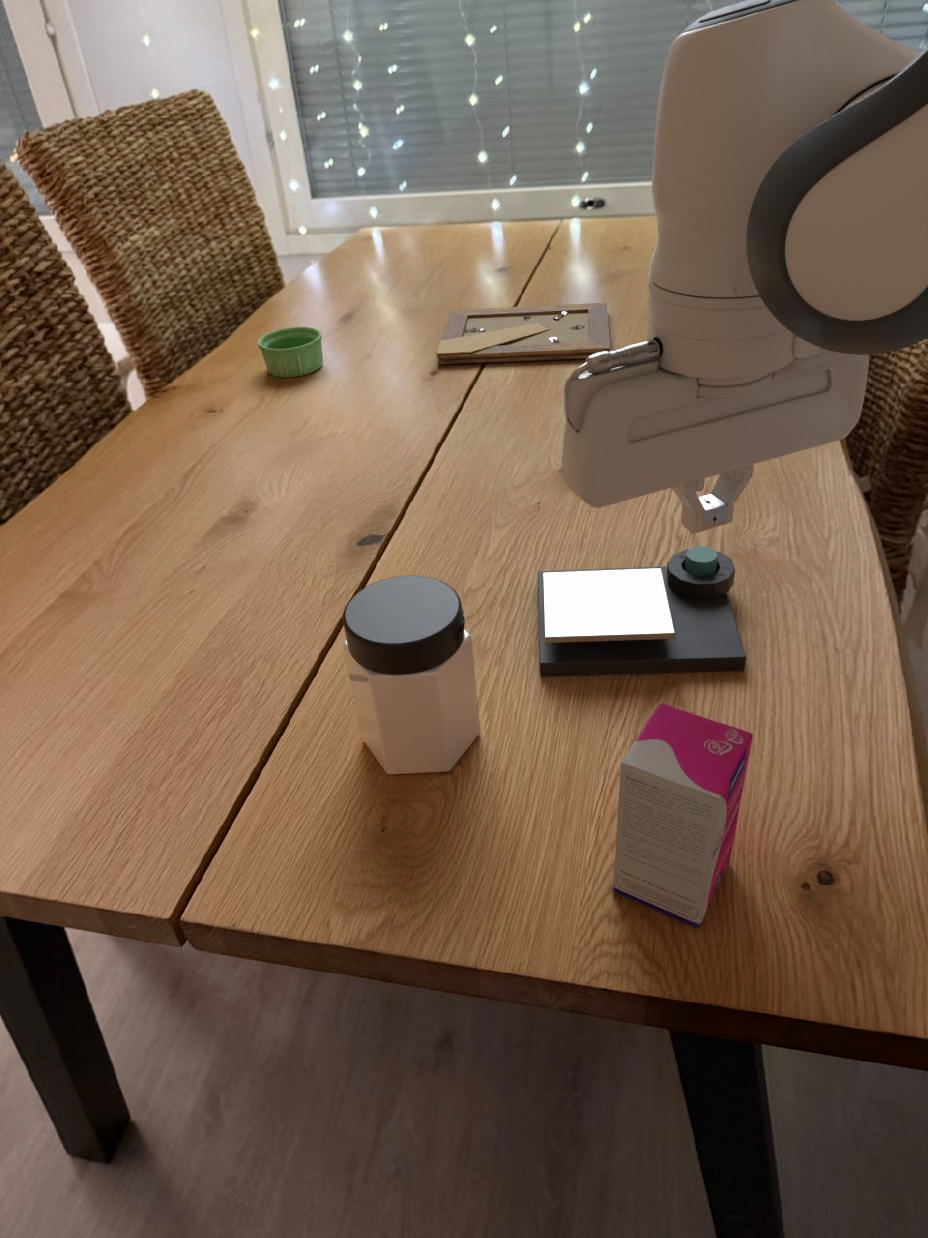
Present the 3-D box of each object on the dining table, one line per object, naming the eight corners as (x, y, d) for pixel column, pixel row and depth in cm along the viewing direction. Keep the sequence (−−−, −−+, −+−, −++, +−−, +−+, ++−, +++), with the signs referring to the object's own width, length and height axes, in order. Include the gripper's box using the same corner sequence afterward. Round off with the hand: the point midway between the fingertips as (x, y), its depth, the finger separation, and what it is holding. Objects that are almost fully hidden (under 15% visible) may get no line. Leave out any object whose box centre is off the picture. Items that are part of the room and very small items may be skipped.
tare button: (713, 560, 80) (715, 545, 79) (718, 577, 78) (720, 561, 77) (683, 561, 80) (684, 546, 79) (687, 578, 78) (688, 563, 77)
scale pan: (660, 573, 78) (661, 567, 78) (674, 639, 71) (675, 633, 71) (543, 578, 79) (543, 572, 79) (545, 643, 72) (544, 637, 72)
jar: (498, 749, 67) (488, 619, 60) (399, 796, 65) (375, 665, 57) (441, 683, 74) (425, 558, 67) (348, 723, 71) (321, 597, 64)
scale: (725, 575, 83) (728, 546, 81) (754, 670, 72) (758, 640, 70) (538, 582, 84) (536, 554, 82) (540, 676, 74) (538, 647, 72)
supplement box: (703, 933, 54) (719, 800, 47) (610, 893, 57) (613, 762, 50) (735, 862, 58) (755, 729, 51) (646, 827, 61) (654, 697, 54)
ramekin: (332, 354, 135) (327, 324, 132) (319, 378, 128) (313, 347, 125) (273, 356, 136) (267, 327, 133) (256, 381, 129) (249, 350, 126)
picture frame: (437, 365, 128) (609, 358, 125) (436, 353, 127) (610, 345, 124) (452, 319, 143) (606, 312, 140) (451, 308, 142) (606, 300, 139)
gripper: (590, 379, 49) (591, 590, 58) (900, 304, 54) (860, 507, 63) (540, 344, 54) (547, 543, 62) (829, 277, 59) (800, 470, 67)
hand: (706, 524), depth 63 cm, fingers closed
